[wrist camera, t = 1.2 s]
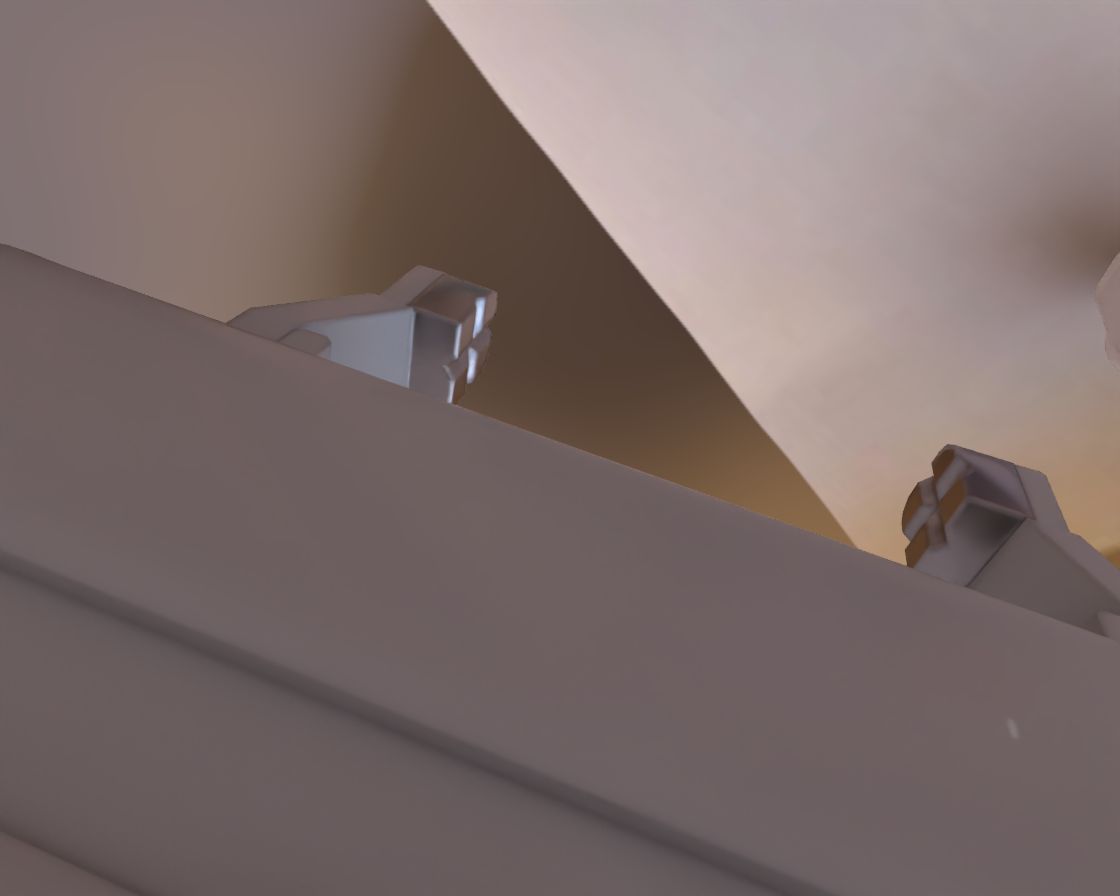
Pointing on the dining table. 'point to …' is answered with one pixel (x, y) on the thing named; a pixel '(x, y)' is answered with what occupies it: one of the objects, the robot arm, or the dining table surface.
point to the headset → (1111, 309)
